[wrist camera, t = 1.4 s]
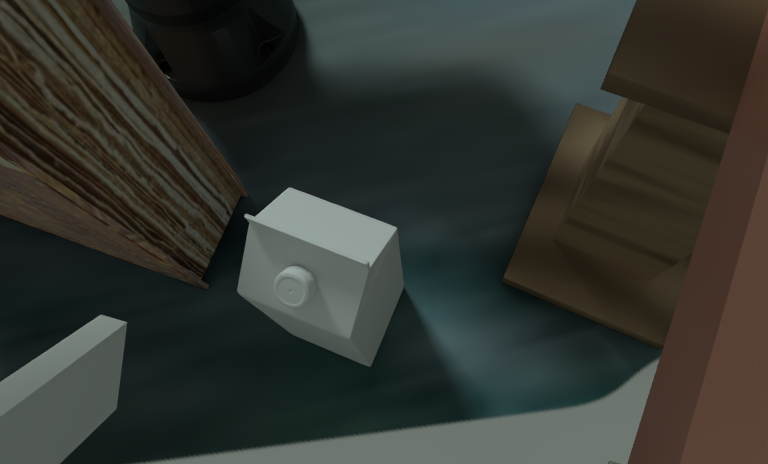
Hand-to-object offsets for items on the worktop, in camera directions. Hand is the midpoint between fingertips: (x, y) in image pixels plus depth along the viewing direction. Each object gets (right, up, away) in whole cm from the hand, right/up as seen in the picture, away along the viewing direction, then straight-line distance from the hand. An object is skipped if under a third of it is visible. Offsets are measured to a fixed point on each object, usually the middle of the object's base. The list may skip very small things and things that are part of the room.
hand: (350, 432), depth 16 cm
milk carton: (-2, -1, +33) cm, 34 cm away
